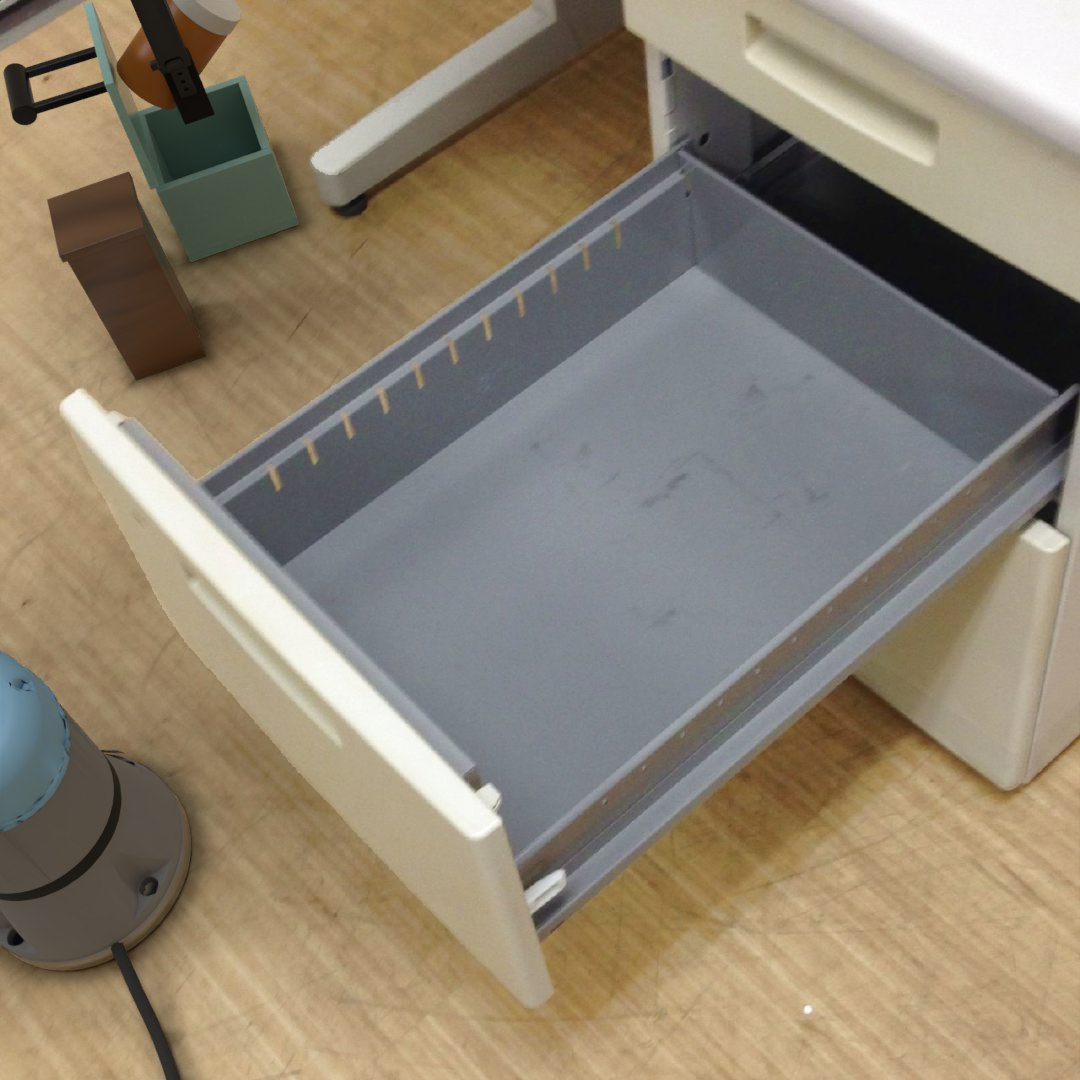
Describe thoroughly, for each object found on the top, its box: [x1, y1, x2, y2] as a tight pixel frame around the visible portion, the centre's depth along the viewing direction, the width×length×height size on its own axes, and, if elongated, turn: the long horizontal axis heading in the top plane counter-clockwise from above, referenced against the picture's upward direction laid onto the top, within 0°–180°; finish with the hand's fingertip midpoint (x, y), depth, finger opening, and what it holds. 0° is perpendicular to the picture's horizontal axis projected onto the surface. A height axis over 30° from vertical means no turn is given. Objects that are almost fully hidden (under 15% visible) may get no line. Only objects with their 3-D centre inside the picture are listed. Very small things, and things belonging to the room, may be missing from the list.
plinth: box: [46, 171, 206, 381], centre depth 128 cm, size 7×7×16 cm
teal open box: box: [138, 74, 300, 263], centre depth 140 cm, size 11×12×9 cm
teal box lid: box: [2, 1, 159, 190], centre depth 130 cm, size 11×12×9 cm
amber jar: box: [116, 0, 242, 110], centre depth 128 cm, size 6×6×10 cm
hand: (191, 93), depth 133 cm, fingers closed on amber jar, 6 cm apart
